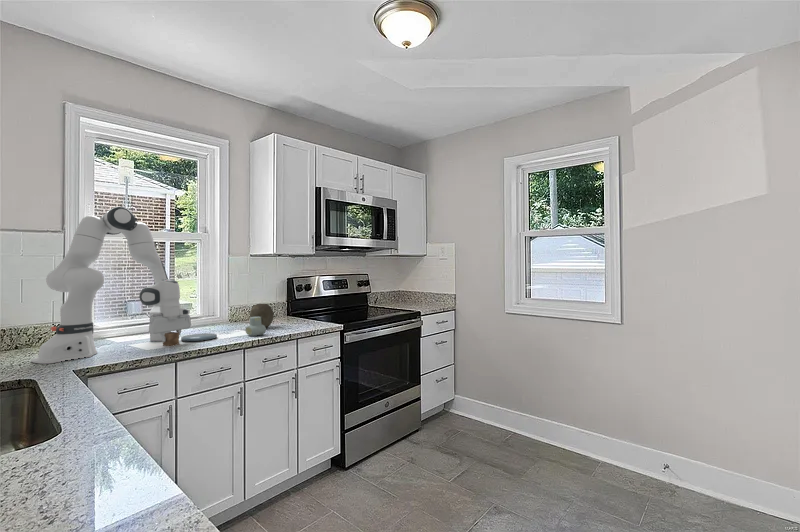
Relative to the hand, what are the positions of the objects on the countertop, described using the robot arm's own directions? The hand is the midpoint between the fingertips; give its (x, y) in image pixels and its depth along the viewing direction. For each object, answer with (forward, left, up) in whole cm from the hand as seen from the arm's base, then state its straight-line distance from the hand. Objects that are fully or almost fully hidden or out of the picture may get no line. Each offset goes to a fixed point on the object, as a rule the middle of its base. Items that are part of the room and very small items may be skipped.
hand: (170, 340), depth 209 cm
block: (0, 0, -2) cm, 2 cm away
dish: (+16, 0, -2) cm, 16 cm away
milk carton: (+7, +18, -2) cm, 19 cm away
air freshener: (+36, -20, -3) cm, 41 cm away
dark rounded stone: (+56, -5, -2) cm, 56 cm away
